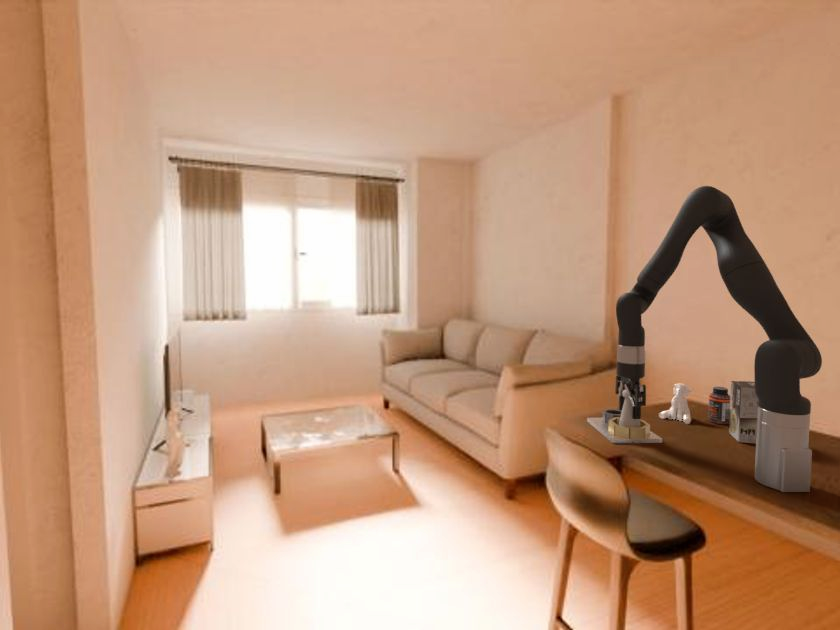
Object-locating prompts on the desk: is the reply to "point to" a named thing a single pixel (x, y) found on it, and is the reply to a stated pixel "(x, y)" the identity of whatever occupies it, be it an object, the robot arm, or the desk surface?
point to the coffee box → (743, 411)
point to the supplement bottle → (719, 406)
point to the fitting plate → (620, 439)
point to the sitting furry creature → (678, 405)
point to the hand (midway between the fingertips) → (629, 414)
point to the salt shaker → (628, 413)
